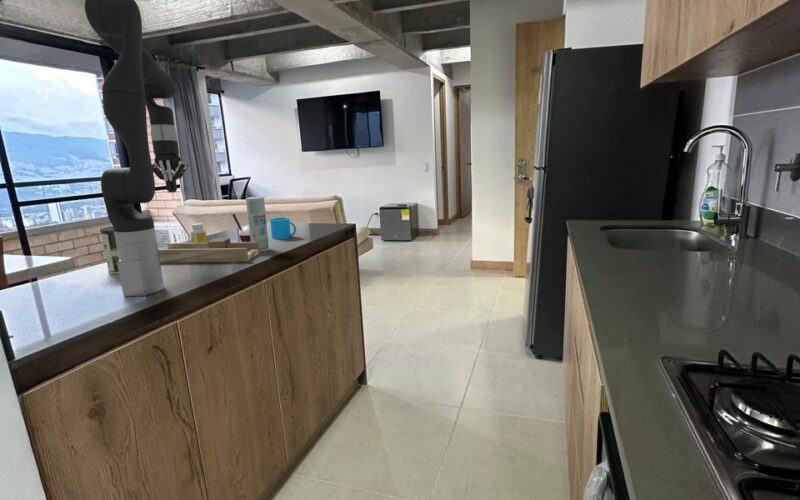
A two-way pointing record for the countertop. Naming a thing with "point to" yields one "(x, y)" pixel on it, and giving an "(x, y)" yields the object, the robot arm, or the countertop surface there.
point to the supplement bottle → (198, 233)
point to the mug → (281, 228)
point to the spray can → (257, 222)
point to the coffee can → (110, 249)
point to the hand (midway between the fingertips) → (172, 192)
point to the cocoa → (243, 232)
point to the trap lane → (208, 252)
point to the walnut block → (219, 243)
